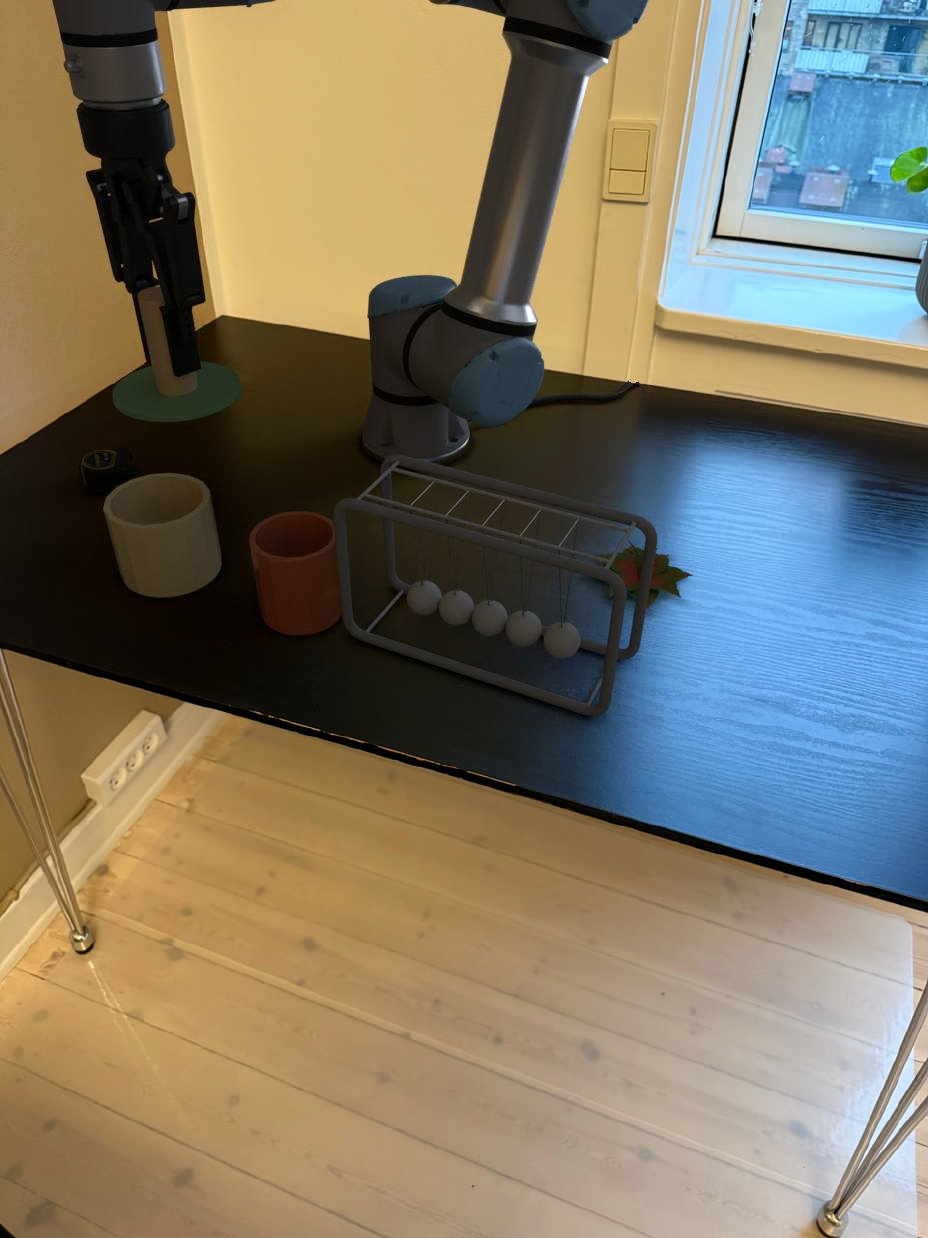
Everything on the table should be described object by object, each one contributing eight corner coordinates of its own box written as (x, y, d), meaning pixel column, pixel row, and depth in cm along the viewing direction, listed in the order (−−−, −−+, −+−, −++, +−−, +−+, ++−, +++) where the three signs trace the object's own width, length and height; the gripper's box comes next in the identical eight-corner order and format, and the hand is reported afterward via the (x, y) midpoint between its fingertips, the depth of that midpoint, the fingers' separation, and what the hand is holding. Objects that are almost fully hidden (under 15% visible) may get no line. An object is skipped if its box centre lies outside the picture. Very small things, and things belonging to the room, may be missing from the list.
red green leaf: (711, 580, 112) (718, 547, 109) (650, 625, 105) (656, 592, 102) (628, 538, 118) (633, 507, 116) (566, 578, 112) (569, 546, 109)
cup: (341, 581, 111) (335, 508, 105) (346, 631, 104) (340, 556, 98) (261, 587, 110) (250, 514, 103) (261, 639, 103) (249, 563, 96)
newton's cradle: (638, 660, 101) (662, 519, 89) (605, 724, 93) (627, 579, 82) (389, 584, 111) (382, 448, 99) (342, 636, 103) (329, 496, 92)
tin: (223, 537, 118) (211, 469, 112) (219, 593, 109) (206, 523, 103) (128, 544, 116) (110, 476, 110) (116, 601, 108) (97, 531, 102)
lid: (245, 368, 102) (230, 267, 95) (240, 423, 92) (223, 316, 86) (123, 374, 101) (100, 272, 94) (106, 431, 91) (78, 322, 84)
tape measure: (138, 492, 125) (132, 467, 123) (83, 500, 124) (76, 475, 121) (135, 467, 130) (129, 443, 128) (82, 474, 129) (76, 450, 126)
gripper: (27, 91, 82) (92, 351, 96) (141, 123, 73) (193, 404, 88) (105, 79, 86) (156, 330, 101) (221, 108, 77) (258, 378, 92)
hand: (173, 364), depth 94 cm, fingers closed on lid, 4 cm apart
